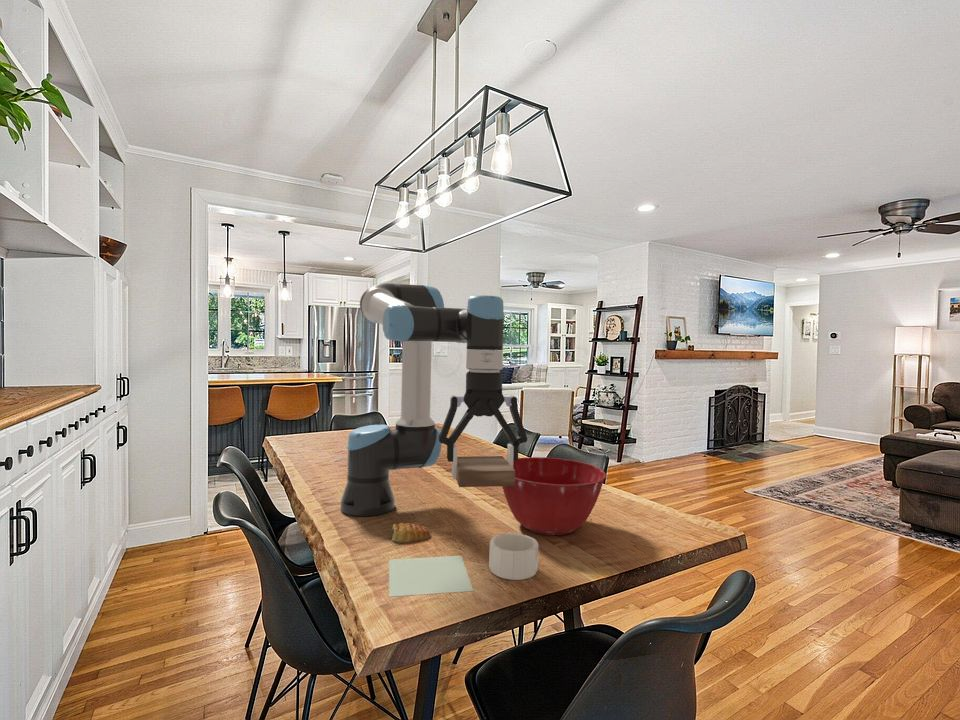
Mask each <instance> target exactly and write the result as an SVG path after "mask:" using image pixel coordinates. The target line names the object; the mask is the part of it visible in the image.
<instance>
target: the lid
mask: <svg viewBox="0 0 960 720" xmlns="http://www.w3.org/2000/svg"><path fill="white" fill-rule="evenodd" d="M506 460H507V459H505V457H504V456H503V455H497V456H496V455H493V456H492V455H491V456H490V455H486V456H483V455H481V456H480V455H479V456H457V476H456V479H455V480H456V483H457V485H458V487H459V488H476V487H478V488H483V487H502V486H515V470H514V469H513V468H512V467H511V465H510V464H509V463H508V462H507V461H506Z"/></svg>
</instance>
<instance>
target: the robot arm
mask: <svg viewBox="0 0 960 720" xmlns="http://www.w3.org/2000/svg"><path fill="white" fill-rule="evenodd" d="M359 308H360V312H361V314H362V315H363V317H364V318H365V319H366V320H368V321H369V322H372V323H374V324H380V325H382V331H383V333H384V334H383V335H384V337H385V338H386V339H387V340H389V341H397V342H401V343H402V351H401V355H402V356H401V359H402V360H401V397H400V398H401V400H400V401H401V403H400V407H401V409H400V418H399V419H398V420H396V422H395V429H391V428H390V426H389V425H387V424H371V425H364V426H361V427H357V428H355V429H353V430H352V431H350V432H349V434H348V439H347V446H346V449H347V480H346V481H347V482H346V485H345V488H344V491H343V493H342V497H341V500H340V511H341V512H342V513H344V514H346V515H349V516H353V517H354V516H356V517H371V516H372V517H373V516H379V515H384V514H386V513H389V512H391V511H392V510H394V509H395V497H394V493H393V490H392V487H391V484H390V480H389V479H390V477H389V476H390V475H389V474H390V471H393V470H394V471H395V470H405V469H406V470H407V469H422V468H427V467H433V466H434V465H435V464H436V463H437V461H439V457H440V454H441V451H442V444H443V445H446V459H447V461H448V462H449V463H451V477H452V479H453V480H454V479H455V480H456V476H457V457H458V446H457V444H456V442H457V440H458V439H459V438H460V437H461V435H462V433H463V432H464V430H465V429H466V427H467V426H468V424H469V422H470V421H472V420H473V418H474V416H476V417H483V416H485V417H493V416H494V417H495V419H496V420H497V422H498V424H499V426H500V427H501V428H502V430H503V432H504V433H505V435H506V436H507V438H508V439H509V441H510V443H507V449H506V453H507V454H506V460H507V462H508V463H509V464H510V465H511V467H512V468H513V461H517V460H518V458H519V446H520V444H524V443H527V442H528V436H527V433H526V431H525V427H524V425H523V421H522V417H521V415H520V412H519V409H518V398H517V397H516V396H514V395H509V396H504V395H503V373H502V372H500V371H502V370H503V368H504V367H503V363H504V362H503V360H504V359H503V358H504V357H503V353H504V348H503V347H504V328H505V327H504V322H505V312H504V311H505V310H504V300H503V298H502V297H500V296H496V295H485V294H483V295H472V296H470V297H469V298H468V299H467V305H466V308H456V307H445V303H444V298H443V295H442V293H441V291H440V290H439V289H438V288H436V287H434V286H429V285H423V284H422V285H421V284H406V283H405V284H403V283H392V282H391V283H389V282H385V283H379V284H375V285H373V286H371V287H369V288H368V289H366V290H365V291H363V293H362V295H361V296H360V301H359ZM433 342H441V343H445V342H446V343H458V344H460V343H461V344H466V357H465V358H466V363H465V364H466V366H465V367H466V369H467V370H468V371H467V373H465V393H464V395H463V396H456V395H451V396H450V397H449V398H450V401H449V402H450V403H449V408H448V411H447V414H446V416H445V420H444V422H443V425H442V427H441V430H440V428H438V427H436V423H435V421H434V419H432V418H431V395H432V394H431V391H432V390H431V389H432V388H431V387H432V386H431V385H432V381H431V380H432V379H431V378H432V346H433V345H432V343H433ZM462 403H464V404H465V406H466V407H467V410H466V411H465V413H464V414H463V416H462V418H461V419H460V421H459V422H457V423H458V424H457V425H456V426H455V427H454V430H453V431H452V433H451V434H450V435H449V437H448V434H449V432H450V429H451V428H452V427H451V426H452V424H453V421H454V418H455V416H456V413H457V409H458V408H459V407H461V406H462ZM504 403H505V404H506V406H507V407H508V409H509V411H510V414H511V418H512V421H513V423H514V427H515V430H516V433H517V436H516V435H515V434H514V431H513V430H512V428H511V427H510V425H509V424H508V422H507V421H506V418H505V417H504V415H503V413H501V411H500V408H501V407H502V405H503V404H504Z"/></svg>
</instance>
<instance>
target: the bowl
mask: <svg viewBox="0 0 960 720" xmlns="http://www.w3.org/2000/svg"><path fill="white" fill-rule="evenodd" d="M488 554H489V557H488V559H489V561H488V568H489V570H490V572H491V574H493V575H495V576H497V577H498V578H501V579H504V580H511V581H523V580H526V579H532V578H534V577H535V576H536V574H537V572H538V569H539V543H538V541H537V540H536V538H534V537H532V536H529V535H526V534H520V533H515V532H514V533H512V532H511V533H500V534H498V535H495V536H492V538H491V539H490V540H489V553H488ZM534 575H535V576H534ZM533 576H534V577H533ZM531 577H532V578H531Z"/></svg>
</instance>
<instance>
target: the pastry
mask: <svg viewBox="0 0 960 720" xmlns="http://www.w3.org/2000/svg"><path fill="white" fill-rule="evenodd" d="M391 534H392V539H391V540H392V542H395V543H400V544H401V543H411V542H417V541H423V540H426V539H429V538H430V537H431V532H430V528H428V527H427V526H424V525H420V524H417V523H410V522H406V523H404V522H399V523H398V524H397V523H393V525H392V528H391Z"/></svg>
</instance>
